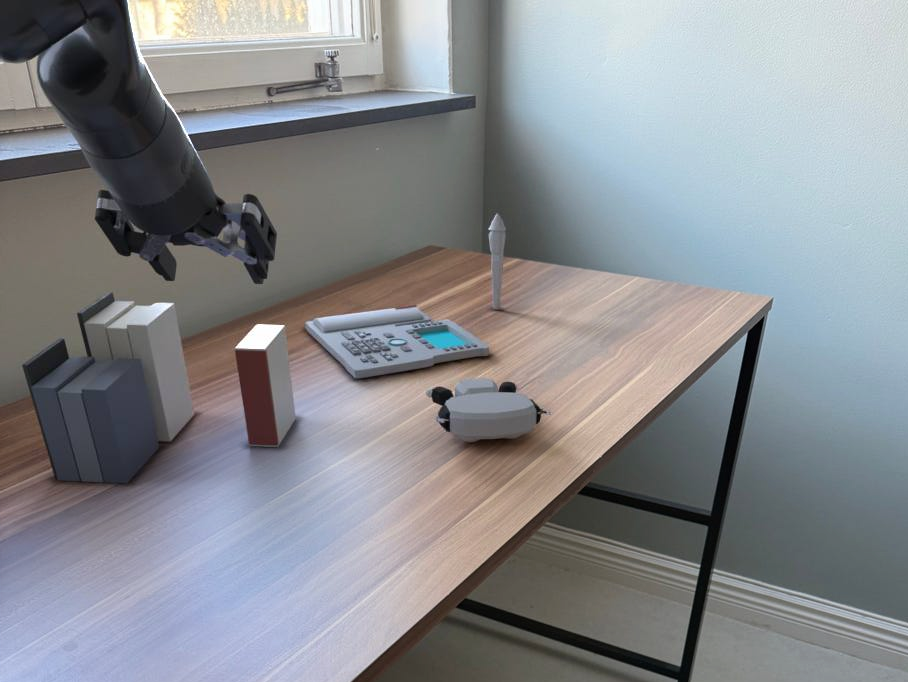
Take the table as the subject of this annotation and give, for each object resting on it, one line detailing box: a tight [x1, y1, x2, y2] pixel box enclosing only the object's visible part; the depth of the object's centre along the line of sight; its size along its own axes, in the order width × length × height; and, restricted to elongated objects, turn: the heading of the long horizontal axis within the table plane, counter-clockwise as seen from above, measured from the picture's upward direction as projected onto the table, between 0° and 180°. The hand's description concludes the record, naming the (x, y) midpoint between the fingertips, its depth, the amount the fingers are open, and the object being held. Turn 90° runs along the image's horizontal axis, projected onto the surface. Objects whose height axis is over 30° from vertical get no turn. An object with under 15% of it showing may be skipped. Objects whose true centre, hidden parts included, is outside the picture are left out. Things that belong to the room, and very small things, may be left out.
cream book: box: [234, 323, 297, 448], centre depth 102 cm, size 3×8×11 cm, turn 175°
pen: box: [487, 212, 507, 311], centre depth 140 cm, size 2×3×14 cm
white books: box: [76, 291, 195, 443], centre depth 102 cm, size 7×8×14 cm
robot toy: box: [425, 377, 552, 443], centre depth 106 cm, size 12×4×15 cm
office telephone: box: [304, 304, 490, 379], centre depth 130 cm, size 23×3×20 cm
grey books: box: [21, 337, 160, 484], centre depth 95 cm, size 8×9×12 cm
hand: (216, 273), depth 86 cm, fingers open, 8 cm apart
